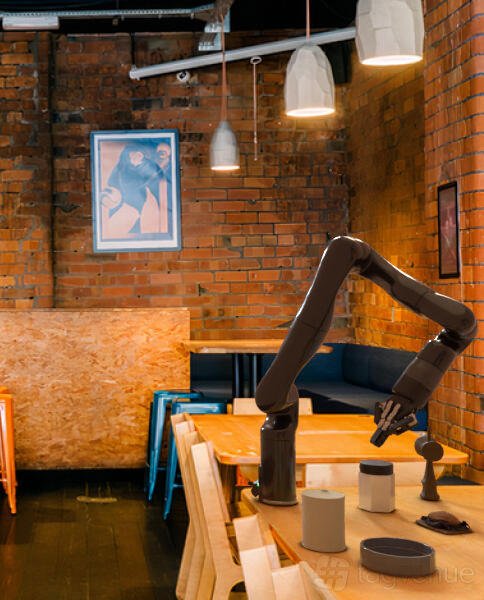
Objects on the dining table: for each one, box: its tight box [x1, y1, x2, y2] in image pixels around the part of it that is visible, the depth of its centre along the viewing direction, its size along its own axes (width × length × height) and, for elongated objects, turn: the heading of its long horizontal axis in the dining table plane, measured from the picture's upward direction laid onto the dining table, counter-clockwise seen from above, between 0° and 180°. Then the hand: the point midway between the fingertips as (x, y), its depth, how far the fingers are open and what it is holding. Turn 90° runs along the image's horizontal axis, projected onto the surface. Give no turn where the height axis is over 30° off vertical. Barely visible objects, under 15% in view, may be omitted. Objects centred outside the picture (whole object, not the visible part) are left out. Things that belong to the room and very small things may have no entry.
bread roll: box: [415, 510, 473, 535], centre depth 189 cm, size 11×8×4 cm
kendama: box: [413, 425, 445, 501], centre depth 217 cm, size 6×10×20 cm, turn 165°
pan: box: [359, 536, 437, 578], centre depth 161 cm, size 14×14×4 cm
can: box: [300, 488, 347, 553], centre depth 175 cm, size 9×9×12 cm
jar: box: [357, 459, 396, 513], centre depth 207 cm, size 9×8×12 cm
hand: (374, 444), depth 180 cm, fingers closed
